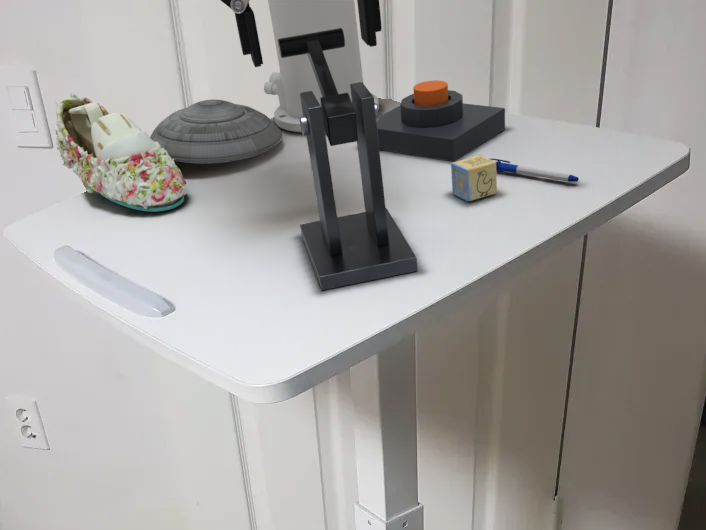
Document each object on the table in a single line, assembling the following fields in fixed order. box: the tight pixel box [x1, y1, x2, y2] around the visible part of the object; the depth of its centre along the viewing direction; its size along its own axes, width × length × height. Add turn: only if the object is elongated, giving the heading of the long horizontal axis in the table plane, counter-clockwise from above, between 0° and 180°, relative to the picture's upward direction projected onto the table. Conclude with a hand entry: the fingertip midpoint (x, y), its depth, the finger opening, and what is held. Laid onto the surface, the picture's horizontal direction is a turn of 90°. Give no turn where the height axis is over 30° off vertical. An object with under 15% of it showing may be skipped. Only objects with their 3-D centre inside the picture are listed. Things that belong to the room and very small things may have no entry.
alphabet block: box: [450, 154, 498, 202], centre depth 78 cm, size 3×3×3 cm
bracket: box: [299, 82, 418, 291], centre depth 68 cm, size 11×8×13 cm
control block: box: [377, 89, 506, 162], centre depth 90 cm, size 12×10×4 cm
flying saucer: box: [149, 99, 283, 165], centre depth 94 cm, size 15×15×6 cm
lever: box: [278, 28, 358, 147], centre depth 68 cm, size 13×6×2 cm, turn 12°
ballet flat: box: [54, 92, 188, 213], centre depth 89 cm, size 9×25×8 cm, turn 39°
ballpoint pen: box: [490, 158, 579, 183], centre depth 80 cm, size 10×1×1 cm, turn 52°
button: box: [412, 80, 449, 106], centre depth 89 cm, size 4×4×2 cm
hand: (313, 52), depth 71 cm, fingers open, 9 cm apart
